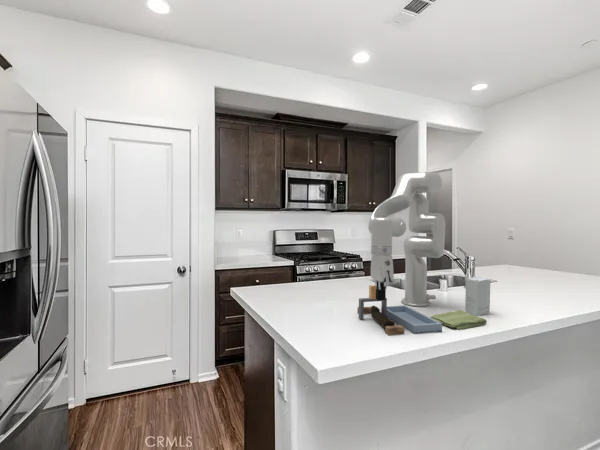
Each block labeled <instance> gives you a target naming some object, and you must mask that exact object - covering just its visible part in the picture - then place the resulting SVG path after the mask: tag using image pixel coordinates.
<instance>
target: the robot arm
mask: <svg viewBox="0 0 600 450" xmlns="http://www.w3.org/2000/svg"><path fill="white" fill-rule="evenodd" d="M395 184H396V185H395V186H394V189H393V192H392V193H391V196H390V197H388V198H387V199H385V200H384V201H383V202H381V203H380V204H379V205H377V207H376V208H375V209H374V211H373V212H372V214H371V216H370V218H369V221H368V231H369V234H370V235H371V236H370V237H371V238H370V243H371V244H370V248H371V249H370V255H371V260H370V278H371V279H372V281H373V282H374V285H375V288H377V289H376V299H377V300H385V299H386V298H387V295H386V293H387V287H389V286H390V283H393V282H394V279H395V278H394V274H395V273H394V260H393V259H394V258H393V254H392V252H393V237H394V238H398V237H402V236H403V235H404V234H405V232H406V231H407V223H406V221H405V220H404V219H403V218H400V217H390V215H394V214H396V213H400V212H402V211H405V210H407V209H408V208H409V210H408V230H409V231H410V232H411V233H414V234H415V233H416V234H429V235H432V236H424V235H410V236H407V237H405V238H404V241H403V251H404V261H405V267H404V268H405V272H404V273H405V274H404V275H405V276H404V277H405V279H404V281H405V283H404V297H403V298H401V303H402V304H403V305H405V306H409V307H410V306H411V307H416V308H417V307H422V308H423V307H429V306H430V305H431V302H430V300H436V298H437V297H436V296H437V295H435V294H431V295H430V294H428V293H427V291H428V290H427V289H428V287H427V284H428V283H427V282H428V281H427V280H428V265H427V263H426V261H425V260H424V259H423V258H431V259H432V258H434V259H439V258H441V257H442V256H444V252H445V241H446V220H445V216H444V215H443V213H442V214H441V213H440V212H429V211H430V210H429V207H430V206H429V205H430V203H429V200H428V199H427V197H426V196H425V195H424V194H423V193H426V194H427V193H428V194H429V193H438V192H439V191H441V188H442V184H443V180H442V177H441V176H440V174H439V173H438V172H432V171H431V172H430V171H421V172H409V173H408V172H407V173H403V174H401V175H400V176H399V177H398V179H397V181H396V183H395Z"/></svg>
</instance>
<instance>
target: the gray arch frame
mask: <svg viewBox="0 0 600 450" xmlns="http://www.w3.org/2000/svg"><path fill="white" fill-rule="evenodd" d="M376 289H377V288H375V284H371V285H368V297H360V298H358V307H359V314H358V319H359V320H364V317H365V316H364V315H365V314H364V307H365V304H364V303H368V302H373V303H374V302H381V307H382V308H381V307H380V312H381V313H382V314H383V315H384V316H386V317H387V306H388V302H387V301H388V298H387V297H386V299H385V300H377V299H376Z"/></svg>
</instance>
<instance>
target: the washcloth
mask: <svg viewBox="0 0 600 450" xmlns="http://www.w3.org/2000/svg"><path fill="white" fill-rule="evenodd" d="M429 317H430V318H432V319H434V320H436V321H438V322H440V323H442V326H446V327H449V328H451V329H453V330H456V331H461V329H462V330H467V329H471V327H472V328H476V326H478V327H481V325H482V326H486V324H487V323H488V321H487V319H486V318H484V317H481V316H476V315H473V314H469V313H467V312H465V310H461V309H457V310H454V311H449V312H443V313H436V314H433V315H432V316H429ZM466 328H467V329H466Z"/></svg>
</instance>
